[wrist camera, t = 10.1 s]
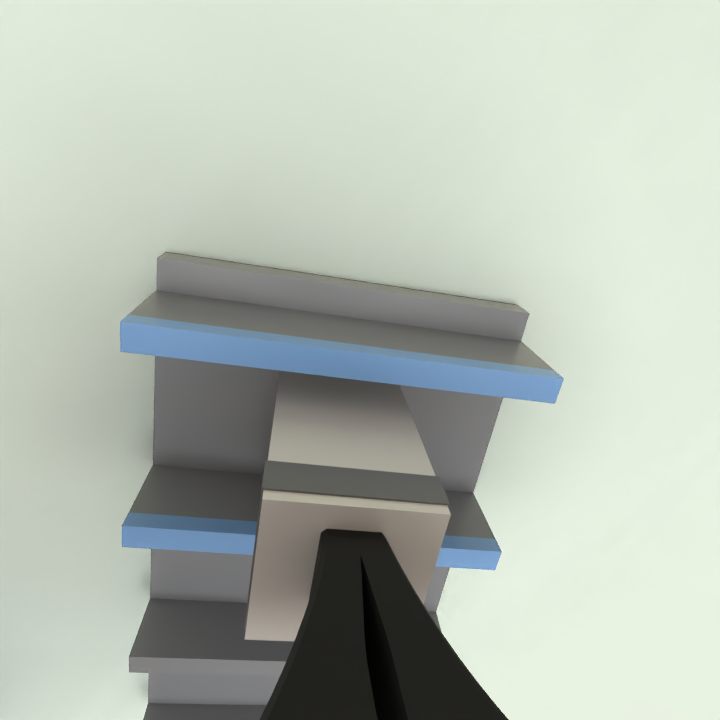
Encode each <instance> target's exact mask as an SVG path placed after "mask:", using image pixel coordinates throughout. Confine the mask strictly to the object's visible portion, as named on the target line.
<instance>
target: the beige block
mask: <svg viewBox="0 0 720 720" xmlns="http://www.w3.org/2000/svg"><path fill="white" fill-rule="evenodd" d="M449 505H450V503H449V500H448V498H447V495H446V493H445V490H444V488H443V485H442V483H441V480H440V478H439V476H435V473H434V471H433V468H432V466H431V463H430V461H429V458H428V456H427V453H426V450H425V448H424V445H423V443H422V440H421V438H420V435H419V433H418V430H417V428H416V425H415V423H414V420H413V418H412V415H411V413H410V410H409V408H408V405H407V402H406V400H405V397H404V395H403V392H402V390H401V387H400V385H396V384H388V383H379V382H371V381H363V380H354V379H346V378H338V377H329V376H321V375H313V374H304V373H296V372H288V371H280V375H279V382H278V390H277V397H276V404H275V411H274V418H273V426H272V433H271V440H270V447H269V455H268V460H265V467H264V473H263V480H262V487H261V495H260V503H259V511H258V519H257V527H256V535H255V543H254V551H253V559H252V567H251V576H250V584H249V592H248V600H247V608H246V616H245V624H244V629H245V630H246V632H245V640H270V641H295V638H296V636H297V633H298V630H299V627H300V625H301V622H302V619H303V617H304V614H305V611H306V608H307V605H308V602H309V596H310V590H311V585H312V579H313V574H314V568H315V563H316V557H317V552H318V546H319V540H320V535H321V532H322V531H324V530H325V529H341V530H354V531H369V532H382V533H383V535H384V536H385V537H386V539H387V541H388V543H389V545H390V547H391V549H392V551H393V553H394V554H395V556H396V558H397V560H398V562H399V564H400V565H401V567H402V569H403V571H404V573H405V574H406V576H407V578H408V580H409V581H410V583H411V585H412V586H413V588H414V590H415V592H416V593H417V595H418V596H419V598H420V600H421V601H422V603H423V604H424V602H425V598H426V595H427V592H428V588H429V585H430V582H431V579H432V575H433V572H434V569H435V565H436V562H437V559H438V555H439V552H440V549H441V546H442V542H443V539H444V536H445V532H446V529H447V526H448V522H449V519H450V516H451V514H450V511H449Z"/></svg>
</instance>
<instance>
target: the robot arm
mask: <svg viewBox="0 0 720 720" xmlns="http://www.w3.org/2000/svg"><path fill="white" fill-rule="evenodd" d="M260 720H508V719H507V717H506V716H505V715H504V714H503V713H502V712H501V710H500V709H499V708H498V707H497V706H496V704H495V703H494V702H493V701H492V700H491V698H490V697H489V696H488V695H487V693H486V692H485V691H484V690H483V688H482V687H481V686H480V685H479V683H478V682H477V681H476V680H475V678H474V677H473V676H472V674H471V673H470V672H469V670H468V669H467V668H466V666H465V665H464V664H463V662H462V661H461V660H460V658H459V657H458V655H457V654H456V653H455V651H454V650H453V648H452V647H451V645H450V644H449V643H448V641H447V640H446V638H445V637H444V635H443V634H442V632H441V631H440V629H439V628H438V626H437V625H436V623H435V622H434V620H433V619H432V617H431V616H430V614H429V612H428V611H427V609H426V608H425V606H424V604H423V603H422V601H421V600H420V598H419V596H418V595H417V593H416V592H415V590H414V588H413V586H412V585H411V583H410V581H409V580H408V578H407V576H406V574H405V573H404V571H403V569H402V567H401V565H400V564H399V562H398V560H397V558H396V556H395V554H394V553H393V551H392V549H391V547H390V545H389V543H388V541H387V539H386V537H385V536H384V535H383V533H382V532H369V531H354V530H341V529H325V530H324V531H322V532H321V535H320V540H319V546H318V552H317V557H316V563H315V568H314V574H313V579H312V585H311V590H310V596H309V602H308V605H307V608H306V611H305V614H304V617H303V619H302V622H301V625H300V627H299V630H298V633H297V636H296V638H295V641H294V644H293V646H292V649H291V651H290V654H289V656H288V659H287V661H286V663H285V666H284V668H283V670H282V673H281V675H280V677H279V679H278V682H277V684H276V686H275V688H274V691H273V693H272V695H271V697H270V699H269V701H268V703H267V705H266V707H265V709H264V711H263V713H262V715H261V718H260Z"/></svg>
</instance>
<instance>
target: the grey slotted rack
mask: <svg viewBox="0 0 720 720" xmlns="http://www.w3.org/2000/svg"><path fill="white" fill-rule="evenodd" d="M528 316H529V313H528V312H527V311H525V310H524V309H522V308H521V307H520V306H518V305H513V304H507V303H500V302H493V301H487V300H480V299H474V298H467V297H460V296H454V295H447V294H440V293H434V292H427V291H421V290H414V289H407V288H401V287H394V286H387V285H381V284H374V283H368V282H361V281H354V280H348V279H341V278H334V277H328V276H321V275H315V274H308V273H301V272H295V271H288V270H281V269H275V268H268V267H262V266H255V265H248V264H242V263H235V262H228V261H222V260H215V259H208V258H202V257H195V256H189V255H182V254H175V253H169V252H166V253H164V254H163V255H161V256H160V257H158V258H157V291H155V292H154V293H153V294H152V295H151V296H150V297H148V298H147V299H146V300H145V301H144V302H143V303H142V304H140V305H139V306H138V307H137V308H136V309H135V310H133V311H132V312H131V313H130V314H129V315H128V316H127V317H125V318H124V319H123V320H122V321H121V322H120V340H121V352H129V353H137V354H145V355H154V356H155V392H154V441H153V466H152V468H151V470H150V472H149V474H148V476H147V478H146V480H145V482H144V484H143V486H142V488H141V490H140V492H139V493H138V495H137V497H136V499H135V501H134V503H133V505H132V507H131V509H130V511H129V513H128V515H127V517H126V519H125V521H124V523H123V525H122V547H132V548H149V549H151V589H150V600H149V603H148V606H147V609H146V612H145V614H144V617H143V620H142V623H141V625H140V628H139V631H138V634H137V636H136V639H135V642H134V645H133V647H132V650H131V653H130V656H129V672H141V673H149V687H148V705H147V709H146V712H145V716H144V719H143V720H260V718H261V715H262V713H263V711H264V709H265V707H266V705H267V703H268V701H269V699H270V697H271V695H272V693H273V691H274V688H275V686H276V684H277V682H278V679H279V677H280V675H281V673H282V670H283V668H284V666H285V663H286V661H287V659H288V656H289V654H290V651H291V649H292V646H293V644H294V641H270V640H245V632H246V630H245V629H244V624H245V616H246V608H247V600H248V592H249V584H250V576H251V567H252V559H253V551H254V543H255V535H256V527H257V519H258V511H259V503H260V495H261V487H262V480H263V473H264V467H265V460H268V455H269V447H270V440H271V433H272V426H273V418H274V411H275V404H276V397H277V390H278V382H279V375H280V371H288V372H296V373H304V374H313V375H321V376H329V377H338V378H346V379H354V380H363V381H371V382H379V383H388V384H396V385H400V387H401V390H402V392H403V395H404V397H405V400H406V402H407V405H408V408H409V410H410V413H411V415H412V418H413V420H414V423H415V425H416V428H417V430H418V433H419V435H420V438H421V440H422V443H423V445H424V448H425V450H426V453H427V456H428V458H429V461H430V463H431V466H432V468H433V471H434V473H435V476H439V478H440V480H441V483H442V485H443V488H444V490H445V493H446V495H447V498H448V500H449V503H450V505H449V511H450V514H451V516H450V519H449V522H448V526H447V529H446V532H445V536H444V539H443V542H442V546H441V549H440V552H439V555H438V559H437V562H436V565H435V569H434V572H433V575H432V579H431V582H430V585H429V588H428V592H427V595H426V598H425V602H424V606H425V608H426V609H427V611H428V612H429V614H430V616H431V617H432V619H433V620H434V622H435V623H436V625H437V626H438V628H439V629H440V625H439V622H438V618H437V614H436V610H437V607H438V603H439V600H440V597H441V594H442V591H443V587H444V584H445V581H446V578H447V575H448V571H449V568H450V567H454V568H470V569H486V570H495V569H496V566H497V563H498V561H499V558H500V555H501V550H500V548H499V545H498V543H497V541H496V539H495V537H494V535H493V533H492V531H491V529H490V527H489V525H488V523H487V521H486V519H485V517H484V514H483V512H482V510H481V508H480V506H479V504H478V502H477V500H476V498H475V496H474V494H473V492H474V488H475V485H476V482H477V479H478V476H479V472H480V469H481V466H482V463H483V460H484V457H485V453H486V450H487V447H488V444H489V441H490V437H491V434H492V431H493V428H494V425H495V421H496V418H497V415H498V412H499V409H500V405H501V402H502V399H503V397H505V398H513V399H522V400H530V401H538V402H547V403H555V402H556V399H557V396H558V393H559V390H560V388H561V385H562V382H563V378H562V377H561V376H560V375H559V374H558V373H557V372H555V371H554V370H553V369H552V368H551V367H550V366H549V365H547V364H546V363H545V362H544V361H543V360H542V359H541V358H539V357H538V356H537V355H536V354H535V353H534V352H533V351H531V350H530V349H529V348H528V347H527V346H526V345H525V344H523V343H522V342H521V338H522V335H523V332H524V329H525V326H526V322H527V319H528ZM440 631H441V629H440Z"/></svg>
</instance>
